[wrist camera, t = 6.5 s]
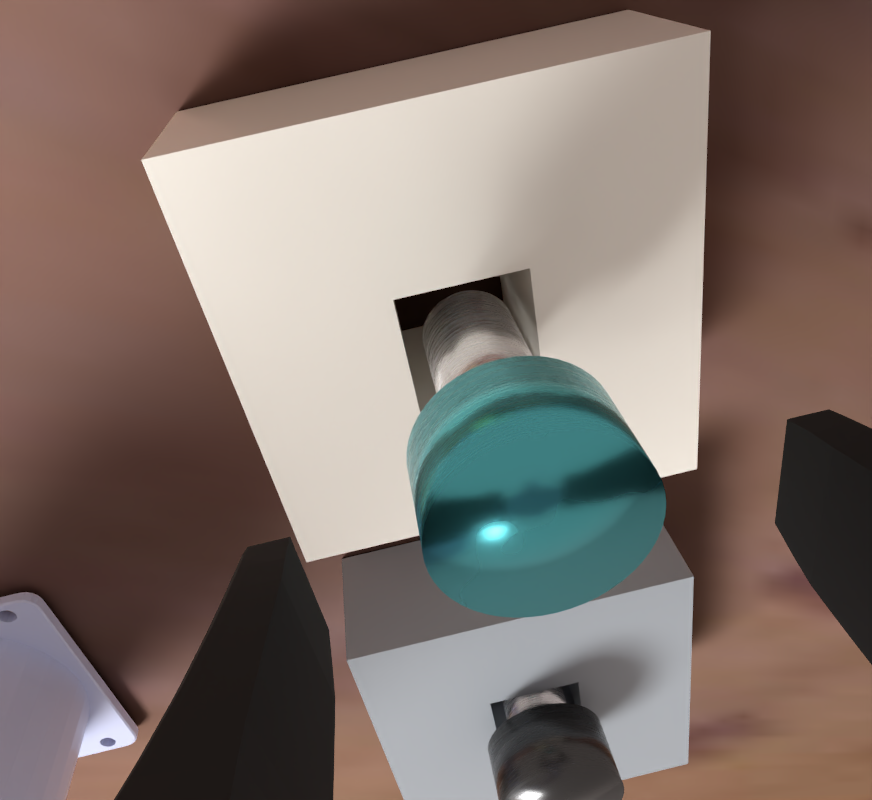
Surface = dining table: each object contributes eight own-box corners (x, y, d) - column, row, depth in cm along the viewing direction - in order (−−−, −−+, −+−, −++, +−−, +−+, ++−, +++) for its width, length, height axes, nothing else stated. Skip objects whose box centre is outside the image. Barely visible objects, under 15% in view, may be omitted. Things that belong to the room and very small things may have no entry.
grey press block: (404, 729, 29) (416, 830, 26) (341, 559, 23) (346, 660, 20) (646, 671, 29) (687, 763, 26) (640, 487, 23) (693, 576, 20)
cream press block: (307, 465, 21) (306, 562, 18) (176, 111, 15) (141, 160, 12) (638, 386, 21) (697, 469, 18) (628, 9, 16) (710, 30, 12)
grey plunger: (471, 672, 27) (510, 847, 22) (456, 609, 25) (494, 787, 20) (565, 649, 27) (626, 819, 22) (557, 584, 25) (621, 755, 20)
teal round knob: (404, 418, 16) (445, 640, 11) (366, 276, 14) (397, 467, 9) (556, 382, 17) (665, 586, 11) (540, 235, 15) (666, 403, 9)
